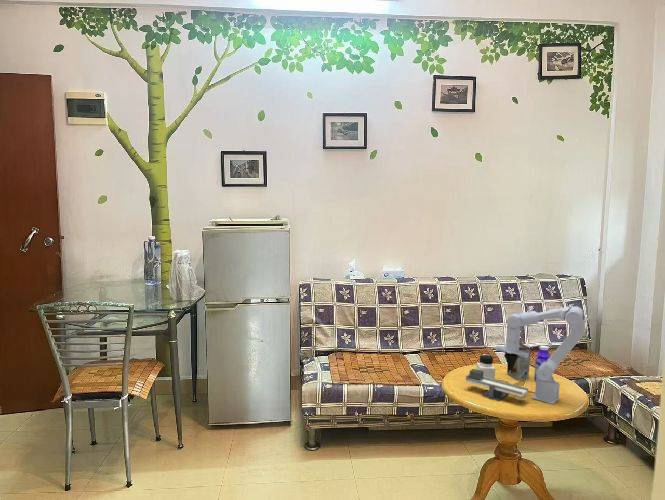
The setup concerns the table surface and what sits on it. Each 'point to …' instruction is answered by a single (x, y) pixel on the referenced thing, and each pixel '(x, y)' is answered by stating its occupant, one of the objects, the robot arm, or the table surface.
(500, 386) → the beam
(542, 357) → the bottle
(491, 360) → the medicine bottle
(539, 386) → the robot arm
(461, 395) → the table surface
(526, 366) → the coffee box
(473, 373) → the block
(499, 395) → the pivot stand
